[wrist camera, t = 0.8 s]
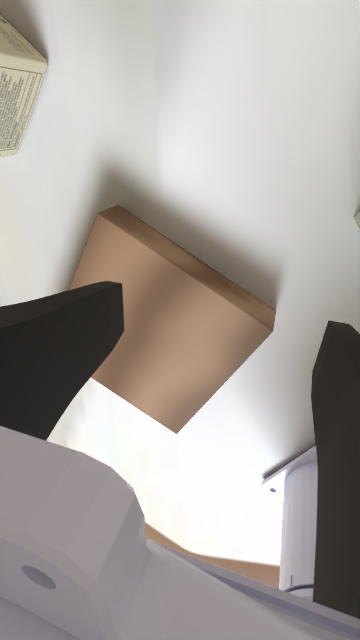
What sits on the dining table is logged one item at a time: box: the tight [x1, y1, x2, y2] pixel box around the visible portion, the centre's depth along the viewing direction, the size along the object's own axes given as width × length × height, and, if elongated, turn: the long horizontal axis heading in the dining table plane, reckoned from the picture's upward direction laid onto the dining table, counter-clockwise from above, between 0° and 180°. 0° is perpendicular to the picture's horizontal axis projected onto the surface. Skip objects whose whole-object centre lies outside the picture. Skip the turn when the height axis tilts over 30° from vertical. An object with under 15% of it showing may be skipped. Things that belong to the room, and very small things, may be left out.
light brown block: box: [69, 205, 276, 434], centre depth 23 cm, size 12×12×2 cm
